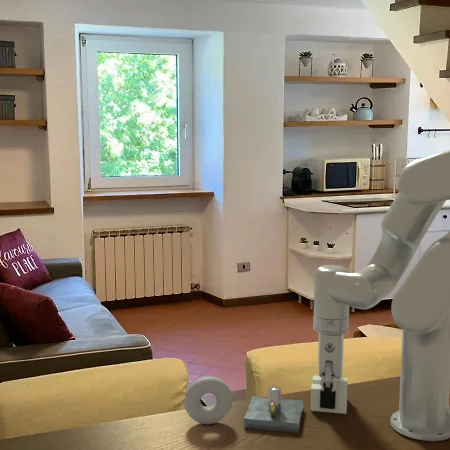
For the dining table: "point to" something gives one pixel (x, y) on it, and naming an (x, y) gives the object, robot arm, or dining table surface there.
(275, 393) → the post base
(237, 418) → the dining table surface
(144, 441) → the dining table surface
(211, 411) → the donut
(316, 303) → the robot arm
